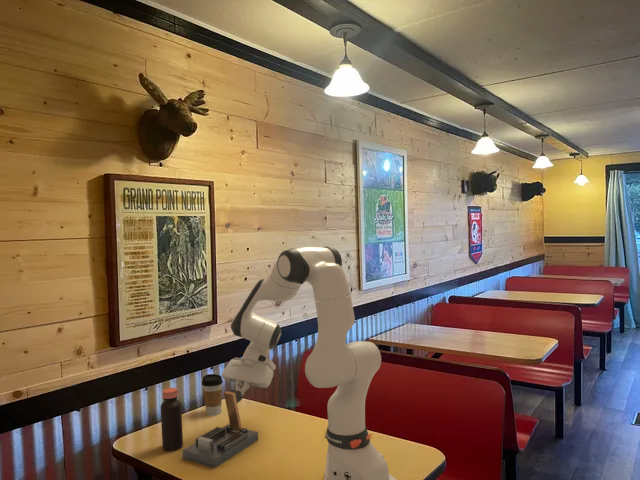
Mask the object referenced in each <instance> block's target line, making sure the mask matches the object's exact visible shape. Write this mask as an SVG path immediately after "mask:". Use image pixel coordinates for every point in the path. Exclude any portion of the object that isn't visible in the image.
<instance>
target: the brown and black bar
mask: <svg viewBox="0 0 640 480" xmlns="http://www.w3.org/2000/svg"><path fill="white" fill-rule="evenodd" d="M223 395H224V400H225V401H224V402H225V405H226V409H227V410H226V411H227V415H228V420H229V421H228V422H229V425H230V426H231V430H236V431H240V432H241V429H242V428H243V427H242V423H241V417H240V411H239V407H238V403H240V402H241V401H242V400H243V396H242V395H241V391H236V390H234V389H232V390H229V391H227V390H226V391H225V392H224V393H223Z"/></svg>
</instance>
